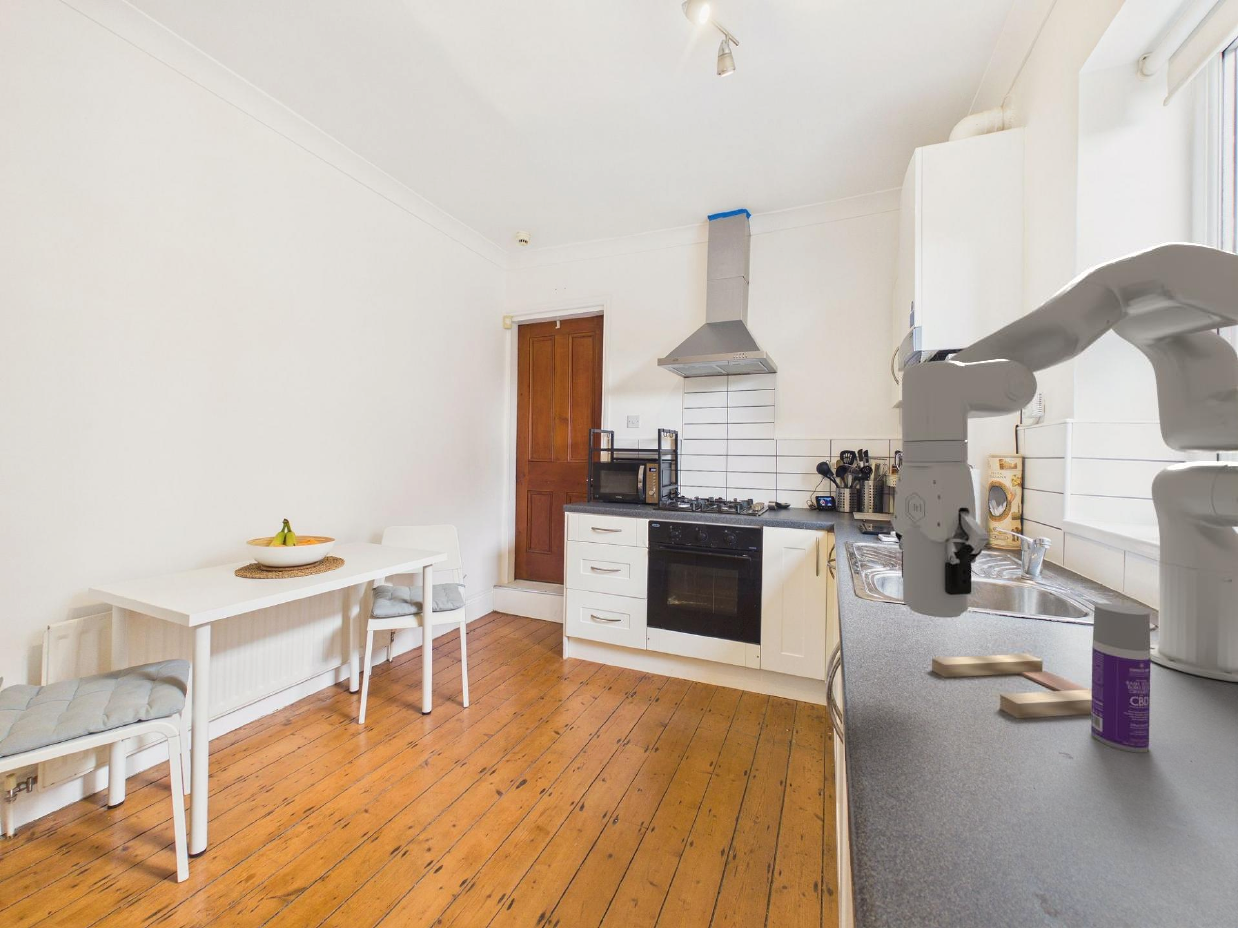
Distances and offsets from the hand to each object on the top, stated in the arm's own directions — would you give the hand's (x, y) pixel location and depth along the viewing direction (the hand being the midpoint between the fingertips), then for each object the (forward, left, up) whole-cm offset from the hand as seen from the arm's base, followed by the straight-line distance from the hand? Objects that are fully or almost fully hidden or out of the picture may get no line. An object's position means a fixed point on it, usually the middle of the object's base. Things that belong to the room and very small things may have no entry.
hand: (934, 584), depth 69 cm
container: (-13, +13, -15) cm, 23 cm away
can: (0, 0, -4) cm, 4 cm away
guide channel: (-14, 0, -15) cm, 20 cm away
